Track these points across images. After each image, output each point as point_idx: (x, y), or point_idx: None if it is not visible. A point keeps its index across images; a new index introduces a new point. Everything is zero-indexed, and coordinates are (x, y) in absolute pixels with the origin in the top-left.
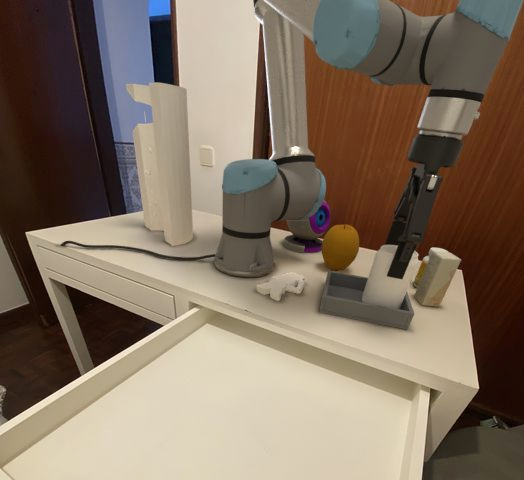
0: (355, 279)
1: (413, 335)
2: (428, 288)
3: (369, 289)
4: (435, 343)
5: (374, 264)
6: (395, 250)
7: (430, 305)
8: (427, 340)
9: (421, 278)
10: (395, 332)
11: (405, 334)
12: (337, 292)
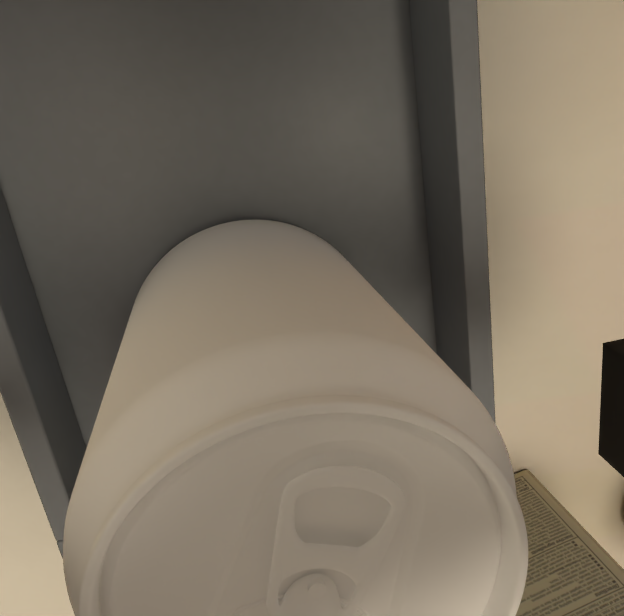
0: (446, 131)
1: (44, 522)
2: None
3: (158, 284)
4: (38, 607)
5: (188, 327)
6: (332, 561)
7: None
8: (41, 577)
9: (588, 543)
10: (8, 447)
11: (25, 490)
12: (285, 29)
